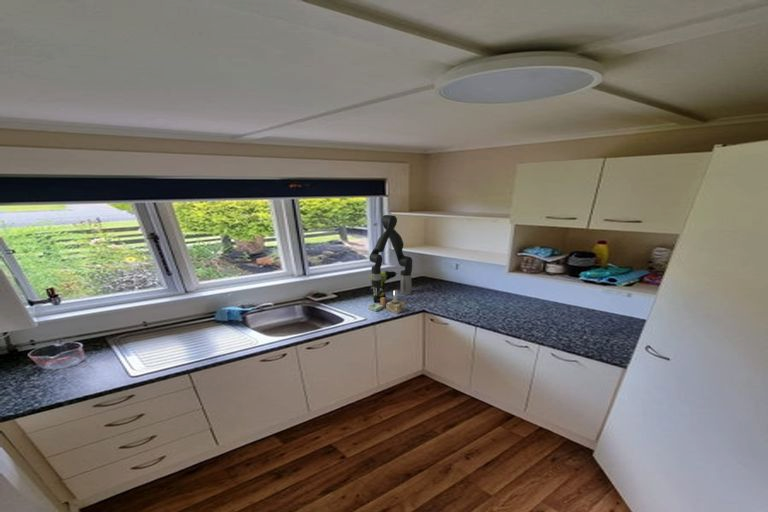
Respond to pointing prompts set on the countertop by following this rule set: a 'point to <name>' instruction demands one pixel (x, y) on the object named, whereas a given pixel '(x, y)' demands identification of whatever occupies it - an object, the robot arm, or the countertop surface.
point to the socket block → (395, 307)
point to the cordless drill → (384, 277)
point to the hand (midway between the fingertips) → (376, 299)
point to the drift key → (383, 301)
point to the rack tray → (375, 307)
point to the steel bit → (395, 296)
